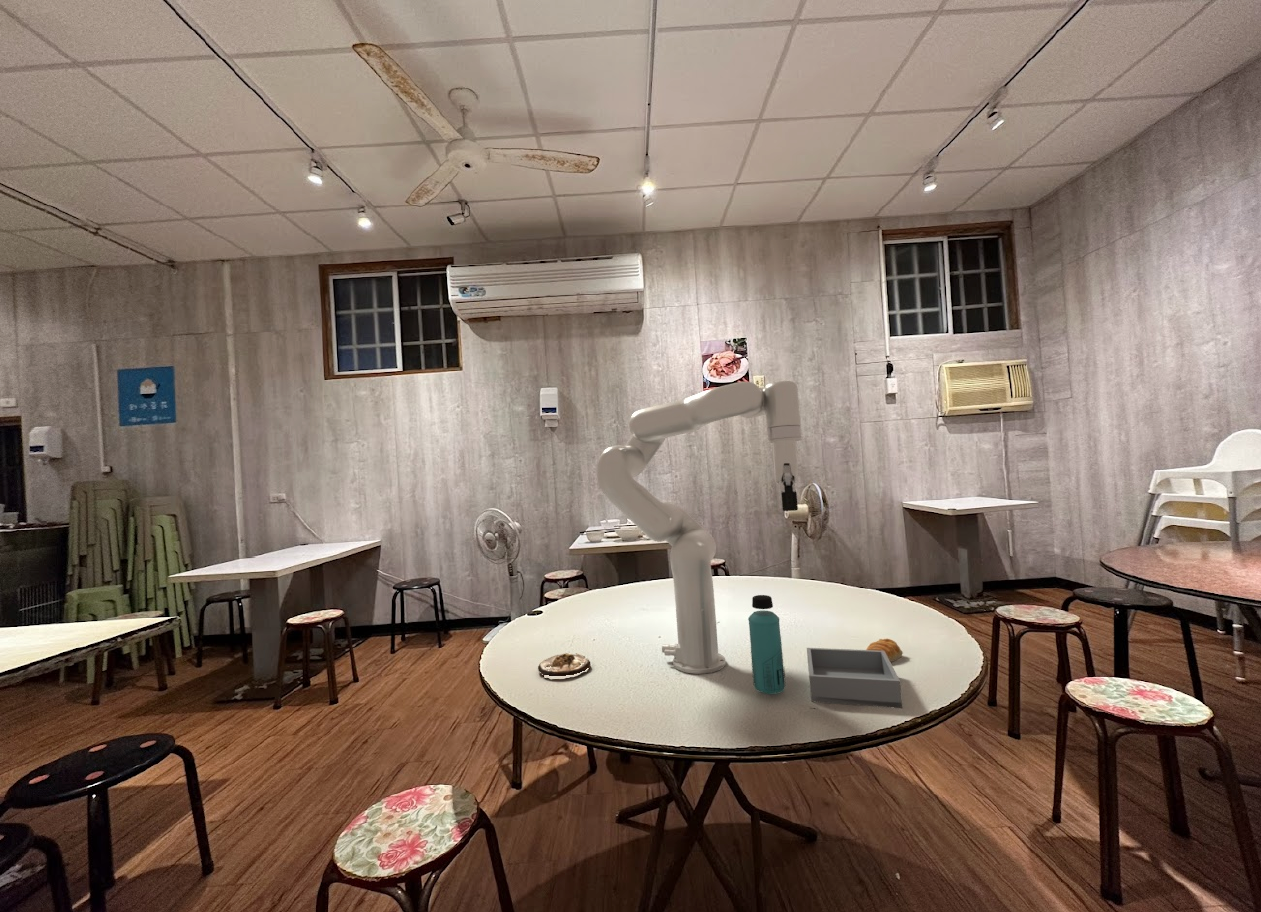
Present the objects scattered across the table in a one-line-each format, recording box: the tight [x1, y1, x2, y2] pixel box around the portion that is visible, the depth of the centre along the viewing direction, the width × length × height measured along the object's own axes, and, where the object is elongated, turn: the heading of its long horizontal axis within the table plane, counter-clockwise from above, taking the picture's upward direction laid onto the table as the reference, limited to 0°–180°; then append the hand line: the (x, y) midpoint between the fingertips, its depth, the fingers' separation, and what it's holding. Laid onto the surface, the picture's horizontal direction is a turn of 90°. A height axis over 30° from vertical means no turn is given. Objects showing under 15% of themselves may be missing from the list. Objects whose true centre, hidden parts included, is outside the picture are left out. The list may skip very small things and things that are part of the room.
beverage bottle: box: [748, 594, 787, 695], centre depth 102 cm, size 6×7×20 cm
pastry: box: [865, 638, 904, 663], centre depth 116 cm, size 9×7×4 cm
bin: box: [806, 647, 903, 709], centre depth 102 cm, size 16×16×5 cm
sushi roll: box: [537, 652, 591, 676], centre depth 122 cm, size 15×15×4 cm
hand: (790, 508), depth 114 cm, fingers open, 9 cm apart
